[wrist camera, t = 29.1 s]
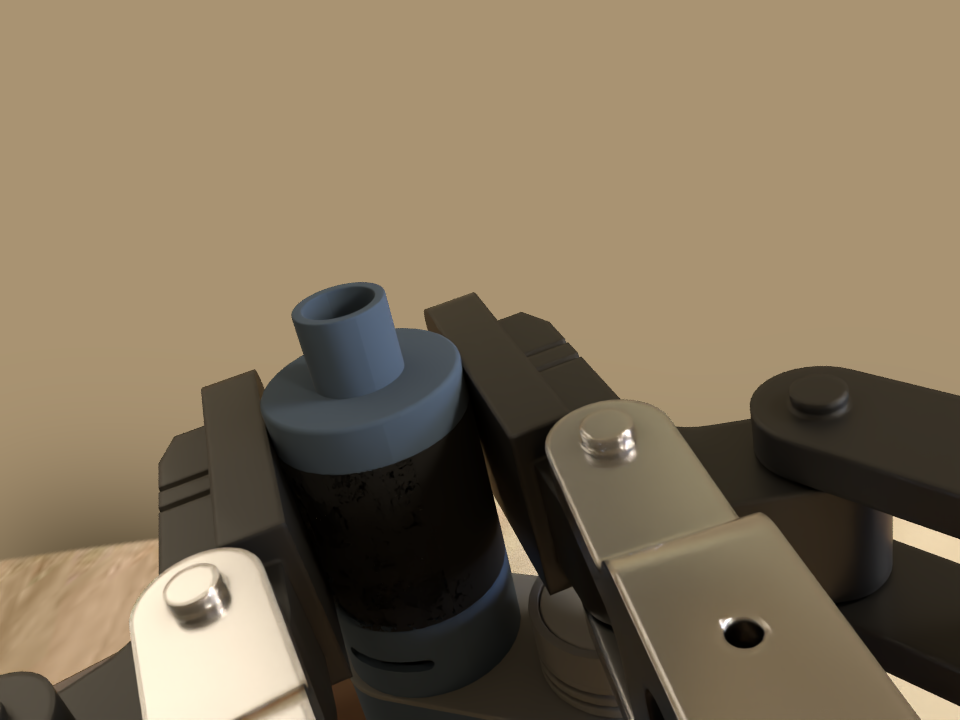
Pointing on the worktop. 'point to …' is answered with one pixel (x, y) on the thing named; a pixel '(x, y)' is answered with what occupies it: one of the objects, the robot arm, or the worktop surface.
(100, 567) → the worktop surface
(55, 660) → the worktop surface
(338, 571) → the vaping device
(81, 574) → the worktop surface
